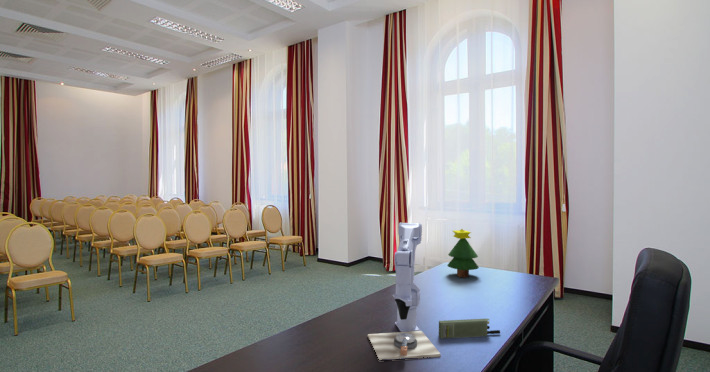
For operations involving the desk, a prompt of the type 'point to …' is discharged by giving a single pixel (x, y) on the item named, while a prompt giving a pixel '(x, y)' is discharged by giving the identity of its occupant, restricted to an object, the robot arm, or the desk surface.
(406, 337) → the frying pan
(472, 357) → the desk surface
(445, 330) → the handheld radio
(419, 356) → the board
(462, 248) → the decorative tree
